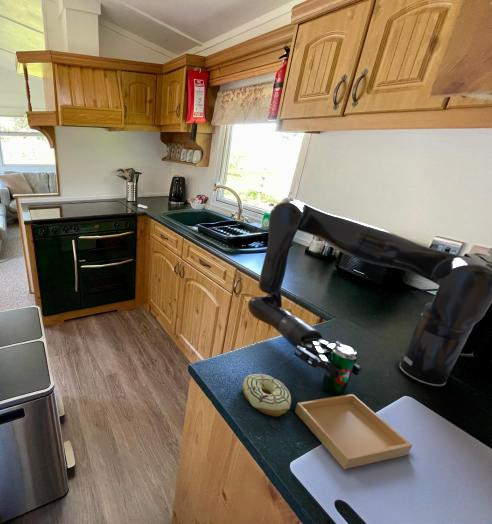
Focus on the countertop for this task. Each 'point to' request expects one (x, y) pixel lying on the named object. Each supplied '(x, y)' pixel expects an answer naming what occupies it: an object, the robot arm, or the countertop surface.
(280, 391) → the decorated donut
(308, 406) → the serving tray
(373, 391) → the countertop surface
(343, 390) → the soda can
